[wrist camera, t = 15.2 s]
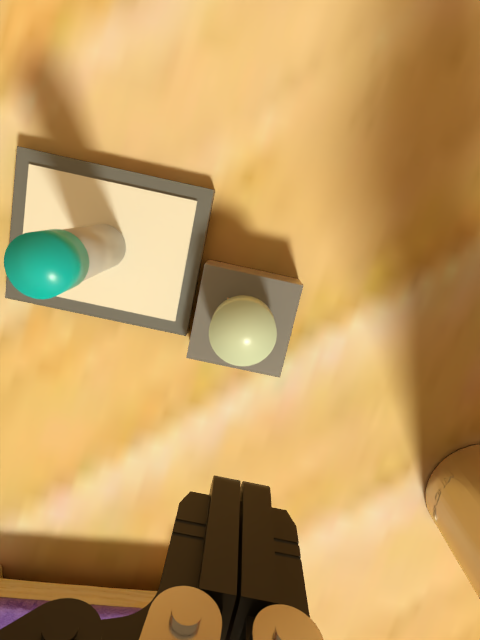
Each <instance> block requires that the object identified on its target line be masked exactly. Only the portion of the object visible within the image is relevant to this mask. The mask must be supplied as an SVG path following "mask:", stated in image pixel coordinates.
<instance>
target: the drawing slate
mask: <svg viewBox="0 0 480 640" xmlns="http://www.w3.org/2000/svg"><path fill="white" fill-rule="evenodd" d="M214 193H215V190H212V189H207V188H203V187H198V186H194V185H189V184H185V183H180V182H176V181H171V180H167V179H162V178H158V177H153V176H149V175H144V174H140V173H135V172H131V171H126V170H122V169H117V168H113V167H108V166H104V165H99V164H95V163H90V162H86V161H81V160H77V159H72V158H68V157H63V156H59V155H54V154H50V153H45V152H41V151H36V150H32V149H27V148H23V147H18V146H17V155H16V168H15V180H14V193H13V206H12V218H11V231H10V243H11V241H12V240H13V239H15V238H16V237H17V236H19V235H21V234H24V233H28V232H35V231H42V230H49V229H61V230H62V229H69V228H76V227H82V226H89V225H96V224H108V225H111V226H113V227H114V228H116V229H117V230H118V231H119V232H120V233H121V234H122V236H123V238H124V240H125V244H126V252H125V255H124V258H123V259H122V261H121V262H120V263H119V264H118V265H116V266H114V267H112V268H110V269H108V270H106V271H103V272H101V273H99V274H97V275H95V276H93V277H91V278H89V279H86V280H84V281H82V282H81V283H80V284H79V285H77V286H76V287H74V288H72V289H70V290H67V291H65V292H63V293H61V294H59V295H57V296H55V297H52V298H49V299H35V298H31V297H28V296H26V295H24V294H23V293H21V292H20V291H18V290H17V289H16V288H15V287H14V286H13V284H12V283H11V282H10V280H9V278H8V276H7V281H6V294H5V298H9V299H14V300H18V301H23V302H28V303H33V304H37V305H42V306H47V307H51V308H56V309H61V310H66V311H70V312H75V313H80V314H85V315H89V316H94V317H99V318H104V319H108V320H113V321H118V322H123V323H127V324H132V325H137V326H141V327H146V328H151V329H156V330H160V331H165V332H170V333H175V334H179V335H184V336H186V335H187V333H188V329H189V324H190V319H191V314H192V308H193V303H194V298H195V293H196V287H197V282H198V277H199V272H200V267H201V261H202V256H203V251H204V246H205V240H206V235H207V230H208V225H209V219H210V214H211V209H212V204H213V199H214ZM10 243H9V244H10Z"/></svg>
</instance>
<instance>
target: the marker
mask: <svg viewBox="0 0 480 640" xmlns="http://www.w3.org/2000/svg"><path fill="white" fill-rule="evenodd" d="M125 252H126V244H125V240H124V238H123V236H122V234H121V233H120V232H119V231H118V230H117V229H116V228H114V227H113V226H111V225H108V224H96V225H89V226H82V227H76V228H69V229H62V230H61V229H49V230H42V231H35V232H28V233H24V234H21V235H19V236H17V237H16V238H15V239H13V240H12V241H11V243H10V244H9V245H8V247H7V249H6V252H5V256H4V267H5V271H6V274H7V276H8V278H9V280H10V282H11V283H12V284H13V286H14V287H15V288H16V289H17V290H18V291H20V292H21V293H23V294H24V295H26V296H28V297H31V298H35V299H49V298H52V297H55V296H57V295H59V294H61V293H63V292H65V291H67V290H70V289H72V288H74V287H76V286H77V285H79V284H80V283H81V282H82V281H84V280H86V279H89V278H91V277H93V276H95V275H97V274H99V273H101V272H103V271H106V270H108V269H110V268H112V267H114V266H116V265H118V264H119V263H120V262H121V261H122V259H123V258H124V255H125Z"/></svg>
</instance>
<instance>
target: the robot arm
mask: <svg viewBox="0 0 480 640" xmlns="http://www.w3.org/2000/svg"><path fill="white" fill-rule="evenodd" d="M426 505H427V508H428V511H429V513H430V515H431V517H432V519H433V520H434V522H435V524H436V525H437V527H438V529H439V531H440V532H441V534H442V536H443V537H444V539H445V541H446V542H447V544H448V546H449V548H450V550H451V551H452V553H453V555H454V556H455V558H456V560H457V561H458V563H459V565H460V566H461V568H462V570H463V572H464V573H465V575H466V577H467V578H468V580H469V582H470V583H471V585H472V587H473V588H474V590H475V592H476V593H477V595H478V597H479V599H480V444H479V445H473V446H469V447H466V448H463V449H460V450H458V451H456V452H454V453H453V454H451V455H449V456H448V457H447V458H445V459H444V460H443V461H442V462H441V463H440V464H439V465H438V466H437V467H436V469H435V470H434V471H433V473H432V475H431V477H430V479H429V481H428V484H427V488H426ZM298 543H299V542H298V535H297V528H296V525H295V523H294V522H293V520H292V519H291V517H290V516H289V514H288V512H287V511H286V510H282V509H277V508H272V507H271V494H270V487H269V486H264V485H259V484H254V483H249V482H244V481H243V482H242V484H241V487H240V481H239V480H234V479H229V478H224V477H219V476H214V477H213V480H212V485H211V489H210V493H209V495H206V494H201V493H196V492H190V493H189V494H188V495H187V496H186V497H185V498H184V499H183V500H182V501H181V502H180V503H179V507H178V512H177V516H176V520H175V524H174V528H173V532H172V536H171V541H170V545H169V549H168V553H167V557H166V561H165V565H164V570H163V574H162V578H161V582H160V586H159V589H158V592H157V593H156V595H155V597H154V598H153V599H152V601H151V602H150V603H149V604H148V605H147V606H145V607H144V608H143V609H141V610H139V611H138V612H136V613H133V614H131V615H128V616H123V617H117V618H110V619H102V620H101V618H100V616H99V614H98V612H97V611H96V610H95V609H94V608H93V607H92V606H91V605H90V604H88V603H87V602H84V601H82V600H79V599H75V598H60V599H56V600H52V601H49V602H46V603H44V604H42V605H41V606H39V607H37V608H35V609H34V610H32V611H30V612H29V613H27V614H25V615H24V616H22V617H20V618H19V619H17V620H15V621H13V622H12V623H10V624H8V625H7V626H5V627H3V628H2V629H0V640H323V637H322V634H321V632H320V630H319V629H318V627H317V626H316V624H315V623H314V622H313V621H312V620H311V619H310V616H309V610H308V603H307V596H306V590H305V583H304V576H303V569H302V562H301V560H300V557H301V556H300V549H299V546H298Z"/></svg>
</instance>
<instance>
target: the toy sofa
mask: <svg viewBox="0 0 480 640" xmlns="http://www.w3.org/2000/svg"><path fill="white" fill-rule="evenodd" d="M157 592H158V591H148V590H135V589H119V588H107V587H95V586H83V585H71V584H58V583H46V582H34V581H23V580H13V579H3V573H2V566H1V565H0V629H2V628H3V627H5V626H7V625H8V624H10V623H12V622H13V621H15V620H17V619H19V618H20V617H22V616H24V615H25V614H27V613H29V612H30V611H32V610H34V609H35V608H37V607H39V606H41V605H42V604H44V603H46V602H49V601H52V600H56V599H60V598H75V599H79V600H82V601H84V602H87V603H88V604H90V605H91V606H92V607H93V608H94V609H95V610H96V611H97V612H98V614H99V616H100V618H101V620H102V619H110V618H117V617H123V616H128V615H131V614H133V613H136V612H138V611H139V610H141V609H143V608H144V607H145V606H147V605H148V604H149V603H150V602H151V601H152V599H153V598H154V597H155V595H156V593H157Z"/></svg>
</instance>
